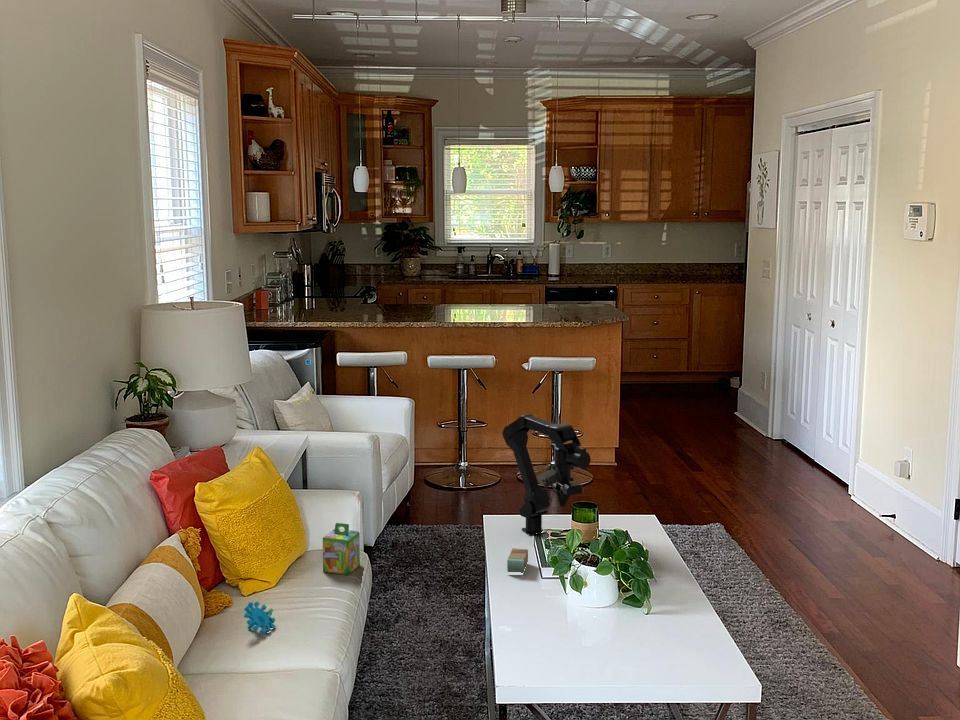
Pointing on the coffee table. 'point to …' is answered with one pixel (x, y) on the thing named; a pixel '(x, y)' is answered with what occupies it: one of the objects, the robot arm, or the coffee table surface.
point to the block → (517, 560)
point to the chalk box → (341, 550)
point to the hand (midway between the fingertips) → (562, 506)
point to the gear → (259, 617)
